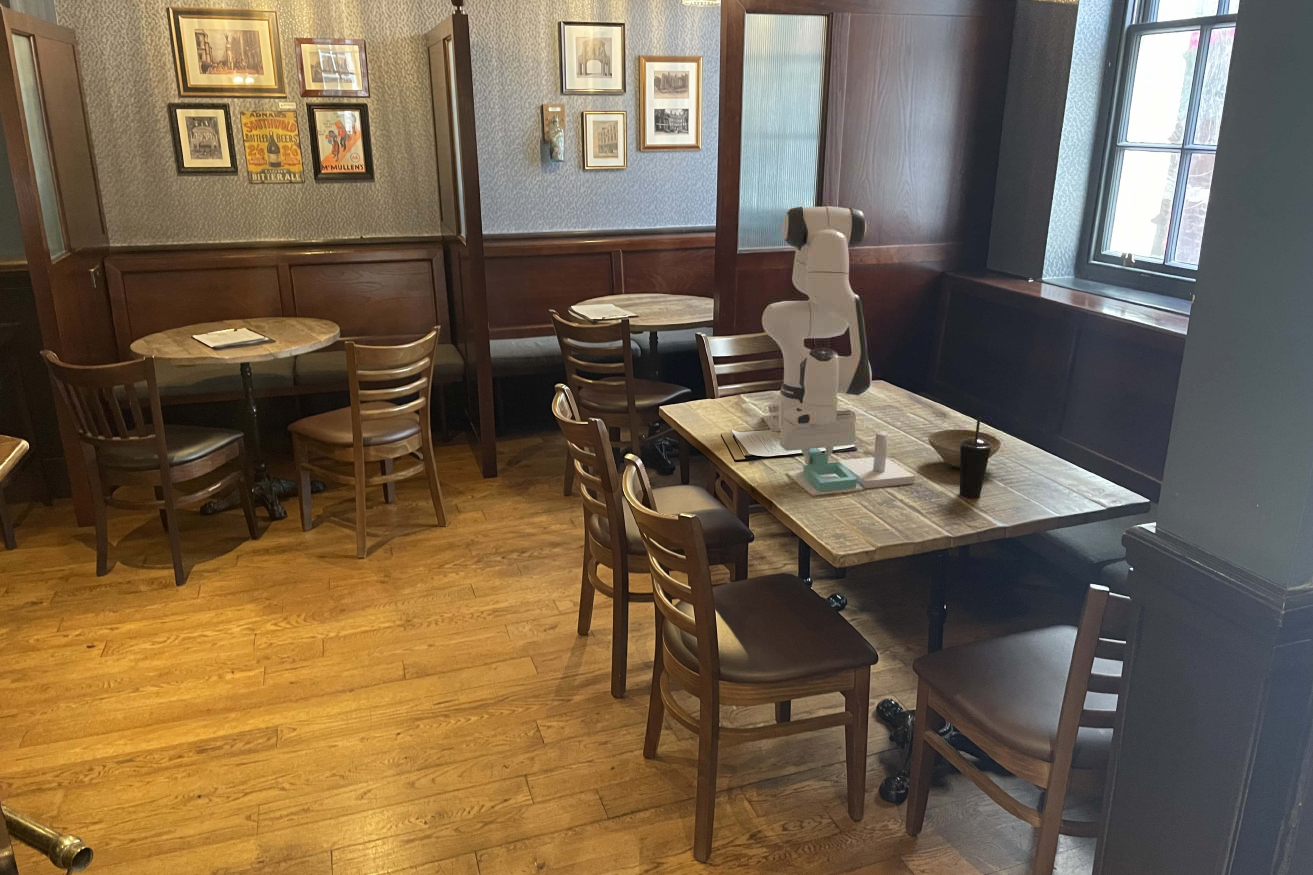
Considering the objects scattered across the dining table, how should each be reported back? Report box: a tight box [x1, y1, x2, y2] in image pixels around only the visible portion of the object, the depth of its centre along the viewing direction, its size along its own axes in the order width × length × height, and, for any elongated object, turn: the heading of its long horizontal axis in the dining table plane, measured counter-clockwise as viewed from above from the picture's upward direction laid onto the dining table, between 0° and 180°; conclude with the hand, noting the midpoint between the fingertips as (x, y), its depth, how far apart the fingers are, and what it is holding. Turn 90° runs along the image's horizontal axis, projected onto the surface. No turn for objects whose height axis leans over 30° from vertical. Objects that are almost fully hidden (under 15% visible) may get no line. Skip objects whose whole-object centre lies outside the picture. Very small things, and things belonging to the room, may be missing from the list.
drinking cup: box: [959, 417, 992, 500], centre depth 225 cm, size 8×8×20 cm
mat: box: [786, 469, 864, 496], centre depth 237 cm, size 16×14×1 cm
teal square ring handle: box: [802, 448, 857, 492], centre depth 236 cm, size 16×10×4 cm, turn 16°
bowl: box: [927, 429, 1002, 469], centre depth 247 cm, size 18×18×8 cm
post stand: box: [836, 431, 916, 489], centre depth 240 cm, size 16×14×12 cm
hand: (816, 463), depth 240 cm, fingers closed on teal square ring handle, 3 cm apart
